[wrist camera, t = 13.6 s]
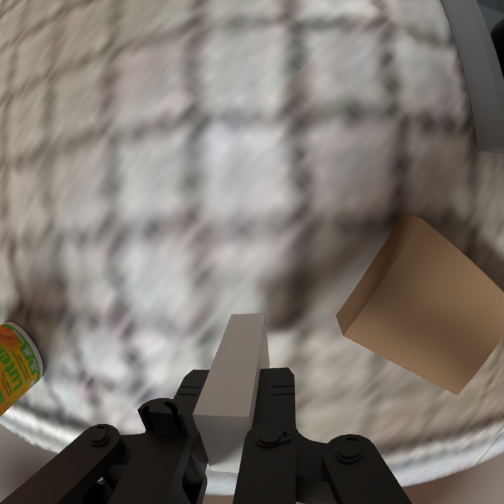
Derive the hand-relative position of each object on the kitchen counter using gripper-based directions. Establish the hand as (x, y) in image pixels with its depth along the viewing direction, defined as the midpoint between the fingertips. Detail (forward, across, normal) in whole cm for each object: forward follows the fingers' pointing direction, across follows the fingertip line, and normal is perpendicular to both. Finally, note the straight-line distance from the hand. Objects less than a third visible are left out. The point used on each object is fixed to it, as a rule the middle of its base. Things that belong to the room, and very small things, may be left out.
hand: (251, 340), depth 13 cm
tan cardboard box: (+2, +10, 0) cm, 10 cm away
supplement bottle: (+2, -19, -3) cm, 19 cm away
